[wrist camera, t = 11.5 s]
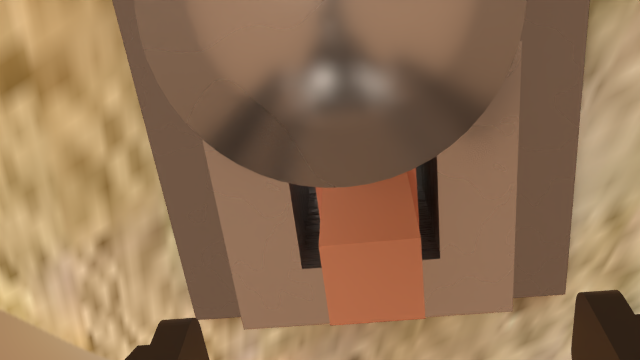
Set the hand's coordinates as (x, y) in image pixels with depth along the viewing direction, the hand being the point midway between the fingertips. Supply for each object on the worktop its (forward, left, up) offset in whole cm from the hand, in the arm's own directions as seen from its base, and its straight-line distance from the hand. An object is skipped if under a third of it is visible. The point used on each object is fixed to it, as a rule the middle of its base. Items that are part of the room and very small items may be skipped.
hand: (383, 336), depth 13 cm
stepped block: (0, 0, -11) cm, 11 cm away
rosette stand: (-1, 0, -12) cm, 12 cm away
